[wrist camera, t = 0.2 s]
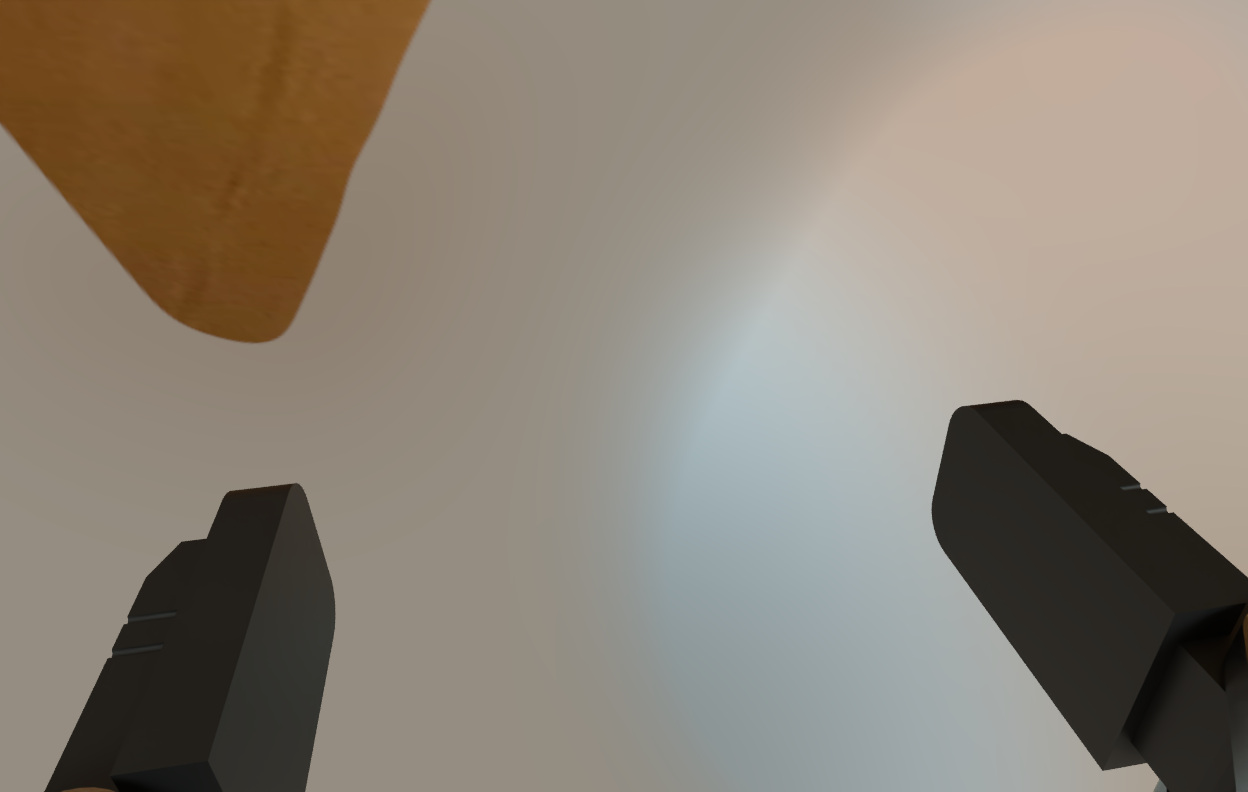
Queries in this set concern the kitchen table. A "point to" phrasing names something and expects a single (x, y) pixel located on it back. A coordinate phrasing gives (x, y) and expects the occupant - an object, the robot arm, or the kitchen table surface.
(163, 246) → the kitchen table surface
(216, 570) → the robot arm
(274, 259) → the kitchen table surface
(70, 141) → the kitchen table surface
